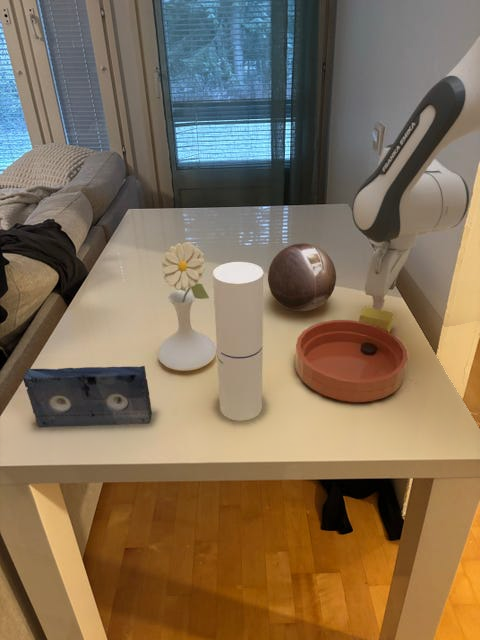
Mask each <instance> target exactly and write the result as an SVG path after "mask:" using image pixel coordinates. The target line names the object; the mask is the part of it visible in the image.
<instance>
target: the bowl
mask: <svg viewBox="0 0 480 640" xmlns="http://www.w3.org/2000/svg"><path fill="white" fill-rule="evenodd" d="M363 343H372V344H374V345H375V346H376V347H377V351H376V354H374V355H365V354H363V353H362V352H361V351H360V349H361V345H362V344H363ZM294 357H295V359H294V365H295V370H296V373H297V375H298V376H299V378H300V379H301V381H302V382H303V383H304V384H305V385H307V386H308V387H309V388H310V389H312V390H314V391H315V392H317V393H319V394H321V395H323V396H325V397H328V398H330V399H333V400H337V401H342V402H349V403H366V402H372V401H373V402H374V401H377V400H380V399H384V398H385V397H388V396H390V395H392V394H394V393H395V392H396V391H397V390H398V389H399V388H400V387H401V386H402V383H403V381H404V379H405V375H406V369H407V364H408V360H409V356H408V350H407V348H406V346H405V345H404V343H403V341H402V340H400V339H399V338H398V337H397V336H396V335H395V334H394V333H392V332H391V331H390V332H388V331H387V330H385V329H383V328H381V327H378V326H375V325H373V324H369V323H365V322H361V321H359V320H354V319H352V320H351V319H331V320H325V321H321V322H318V323H316V324H312V325H310V326H309V327H307V328H305V329H304V330H303V331H301V333H300V334H299V335H298V337H297V341H296V343H295V356H294Z"/></svg>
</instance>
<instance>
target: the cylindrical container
mask: <svg viewBox="0 0 480 640" xmlns="http://www.w3.org/2000/svg"><path fill="white" fill-rule="evenodd" d="M212 277H213V278H212V281H213V282H212V283H213V298H214V299H213V300H214V301H213V302H214V319H215V320H214V321H215V337H216V338H215V339H216V340H215V341H216V349H217V351H216V358H217V377H218V394H219V395H218V397H219V398H218V399H219V409H220V412H221V413H222V415H223V416H224V417H226V418H227V419H229V420H232V421H240V422H244V421H249V420H253V419H254V418H256V417H258V415H259V414H260V413H261V411H262V410H263V356H264V355H263V349H264V348H263V347H264V346H263V344H264V341H263V340H264V269H263V268H262V267H261V266H260V265H257V264H255V263H251V262H247V261H232V262H231V261H230V262H226V263H223V264H220V265H218V266H217V267H215V268H214V270H212Z"/></svg>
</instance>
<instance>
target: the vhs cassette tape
mask: <svg viewBox="0 0 480 640" xmlns="http://www.w3.org/2000/svg"><path fill="white" fill-rule="evenodd" d="M22 381H23V383H24V387H25V388H27V389H26V393H27V396H28V399H29V401H30V405H31V408H32V412H33V415H34V416H35V421H36V423H37V426H38V427H40V428H43V427H45V428H47V427H73V426H108V425H109V426H110V425H136V424H139V425H140V424H149V423H150V422H151V418H152V415H153V411H152V404H151V397H150V390H149V389H150V388H149V385H148V379H147V372H146V366H145V365H142V366H106V367H105V366H89V367H87V366H86V367H63V368H27V371H26V372H25V373H24V375H23V378H22Z"/></svg>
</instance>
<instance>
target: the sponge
mask: <svg viewBox="0 0 480 640" xmlns="http://www.w3.org/2000/svg"><path fill="white" fill-rule="evenodd" d="M394 314H395V312H393V311H388V310H383V309H381V310H378V309H374V308H373V307H371V306H364V308H363V309H362V311H361V313H360V314H359V319H358V321H361V322H365V323H369V324H373V325H375V326H378V327H381V328H383V329H385V330H387V331H388V332H390V333H391V330H392V326H393V320H394Z"/></svg>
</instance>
